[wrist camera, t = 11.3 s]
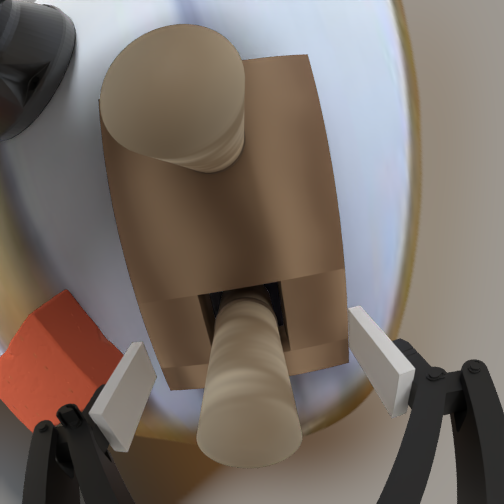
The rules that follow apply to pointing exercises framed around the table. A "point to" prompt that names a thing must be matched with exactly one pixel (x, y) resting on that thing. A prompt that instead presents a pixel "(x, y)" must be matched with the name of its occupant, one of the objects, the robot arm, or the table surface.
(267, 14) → the table surface
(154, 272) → the walnut board
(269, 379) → the beech leg
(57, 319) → the brick
